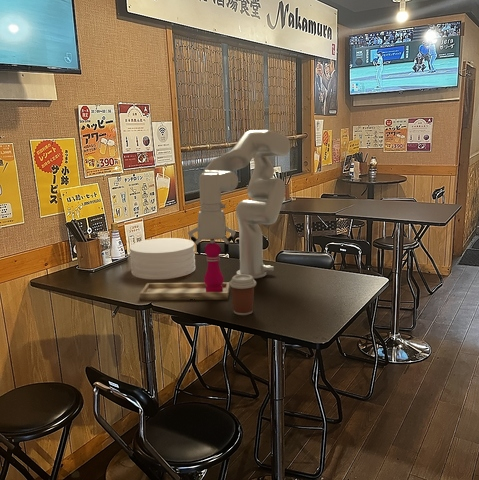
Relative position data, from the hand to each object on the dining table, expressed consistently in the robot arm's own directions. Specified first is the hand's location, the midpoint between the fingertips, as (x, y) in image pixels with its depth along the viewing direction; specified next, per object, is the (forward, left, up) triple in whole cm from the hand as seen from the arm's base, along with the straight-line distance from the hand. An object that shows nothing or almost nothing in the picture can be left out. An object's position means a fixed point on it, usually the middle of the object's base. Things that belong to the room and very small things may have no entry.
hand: (212, 254), depth 175 cm
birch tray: (+11, 0, -15) cm, 19 cm away
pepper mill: (0, 0, -15) cm, 15 cm away
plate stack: (+26, -33, -16) cm, 45 cm away
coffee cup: (-11, +18, -16) cm, 26 cm away
